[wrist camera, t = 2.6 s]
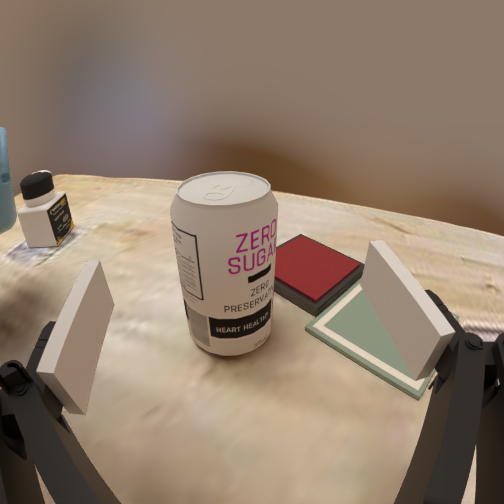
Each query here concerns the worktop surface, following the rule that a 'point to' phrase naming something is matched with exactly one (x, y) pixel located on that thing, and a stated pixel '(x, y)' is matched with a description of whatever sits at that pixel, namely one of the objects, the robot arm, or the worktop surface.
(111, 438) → the worktop surface
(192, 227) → the supplement can
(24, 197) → the medicine bottle
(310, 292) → the ink pad
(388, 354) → the mat
